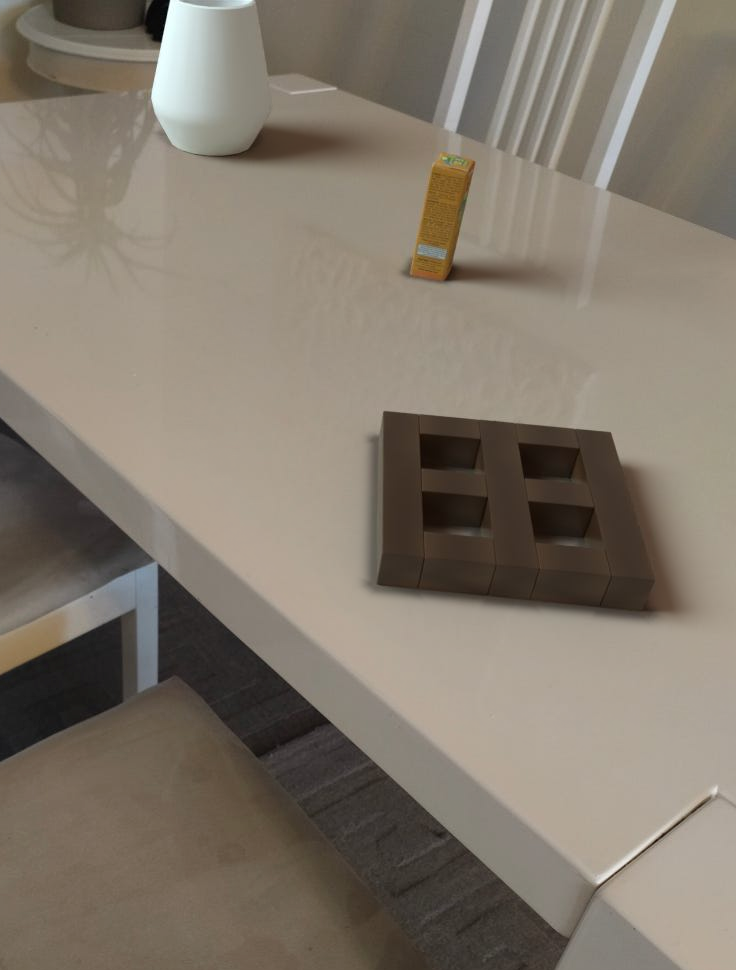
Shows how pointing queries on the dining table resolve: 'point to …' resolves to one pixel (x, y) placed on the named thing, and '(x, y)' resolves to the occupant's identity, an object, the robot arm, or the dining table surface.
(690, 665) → the dining table surface
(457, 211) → the supplement box
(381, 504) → the socket block
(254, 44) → the white vase
